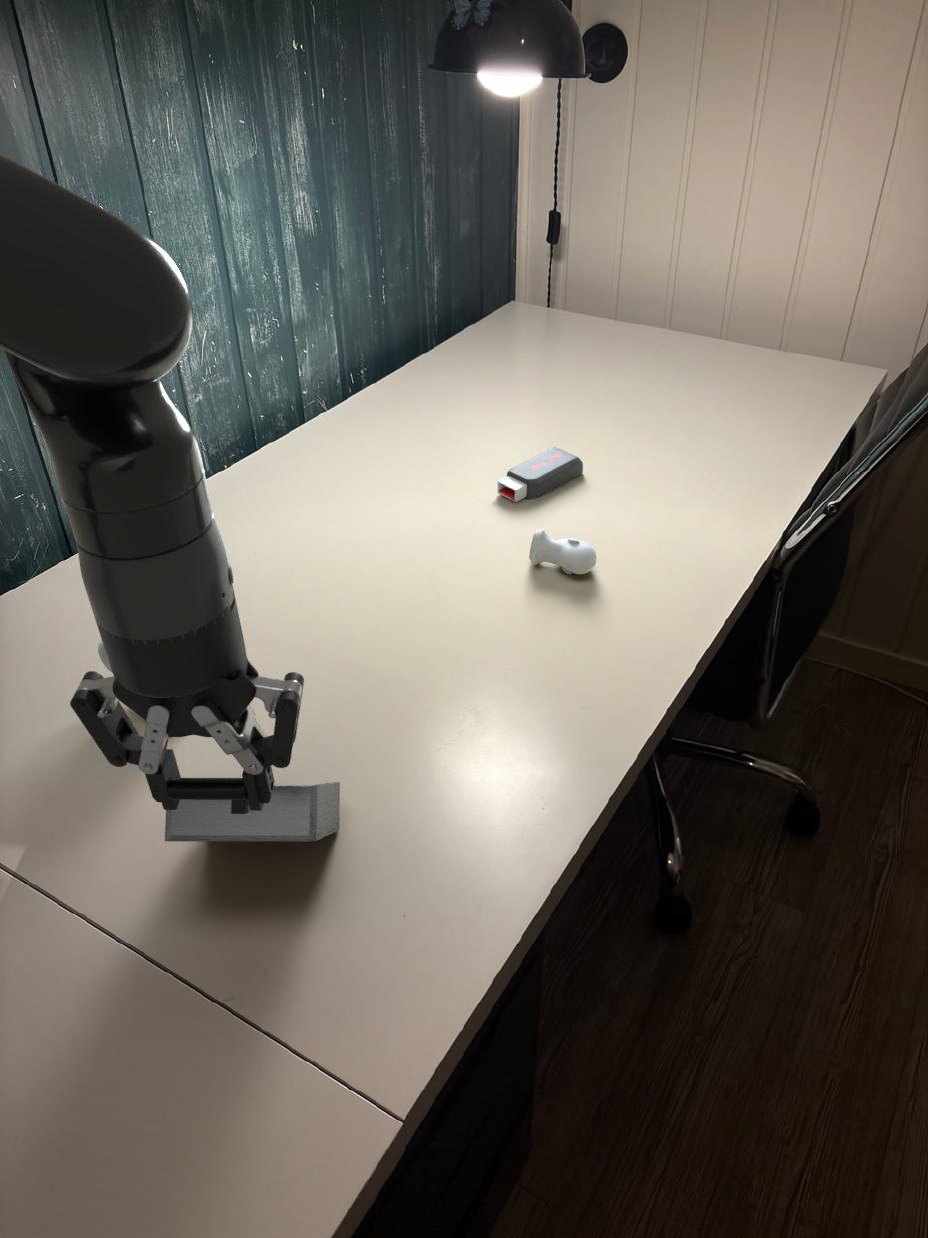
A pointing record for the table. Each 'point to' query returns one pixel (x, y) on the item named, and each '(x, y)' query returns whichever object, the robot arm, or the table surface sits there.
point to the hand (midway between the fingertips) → (217, 800)
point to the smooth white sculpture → (562, 553)
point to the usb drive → (540, 475)
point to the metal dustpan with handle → (250, 812)
